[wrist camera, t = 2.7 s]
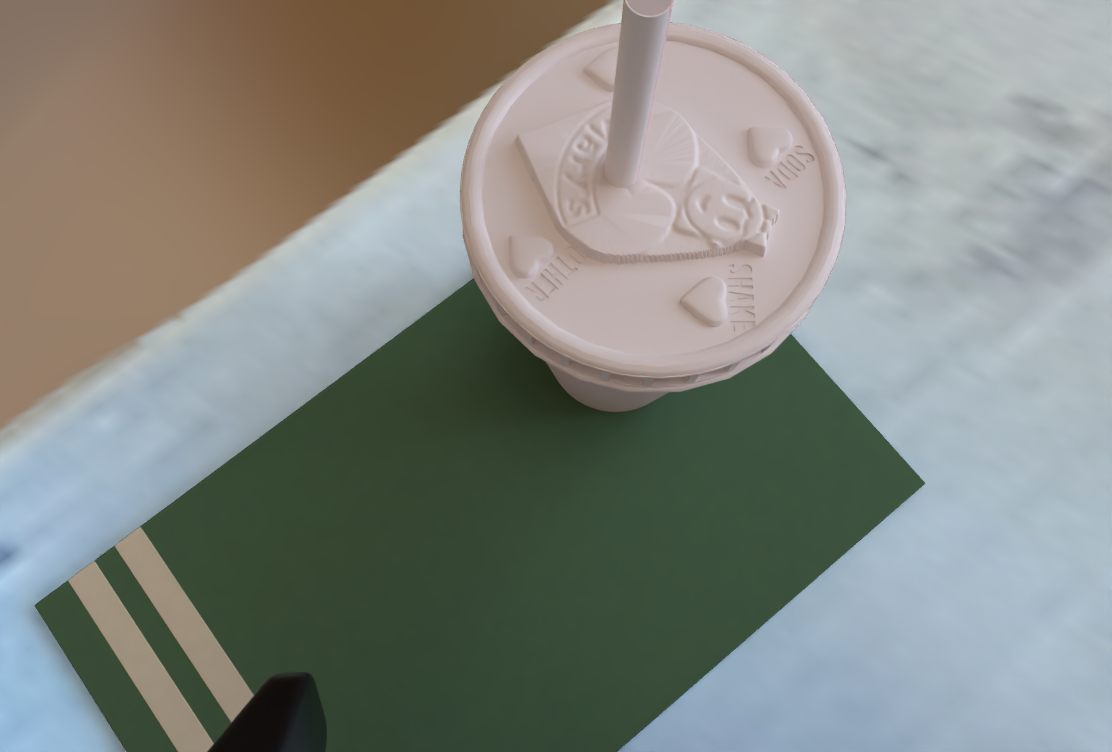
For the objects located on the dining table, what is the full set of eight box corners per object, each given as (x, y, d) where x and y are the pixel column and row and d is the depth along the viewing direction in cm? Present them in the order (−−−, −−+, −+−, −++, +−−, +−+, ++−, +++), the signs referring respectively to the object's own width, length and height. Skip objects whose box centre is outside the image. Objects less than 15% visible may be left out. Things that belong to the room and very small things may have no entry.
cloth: (302, 1023, 19) (299, 1028, 19) (38, 604, 22) (33, 605, 21) (922, 483, 22) (926, 483, 22) (633, 162, 24) (633, 158, 24)
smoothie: (550, 205, 24) (538, -285, 10) (763, 284, 23) (1052, -123, 10) (461, 409, 22) (309, 159, 9) (685, 499, 22) (891, 379, 8)
